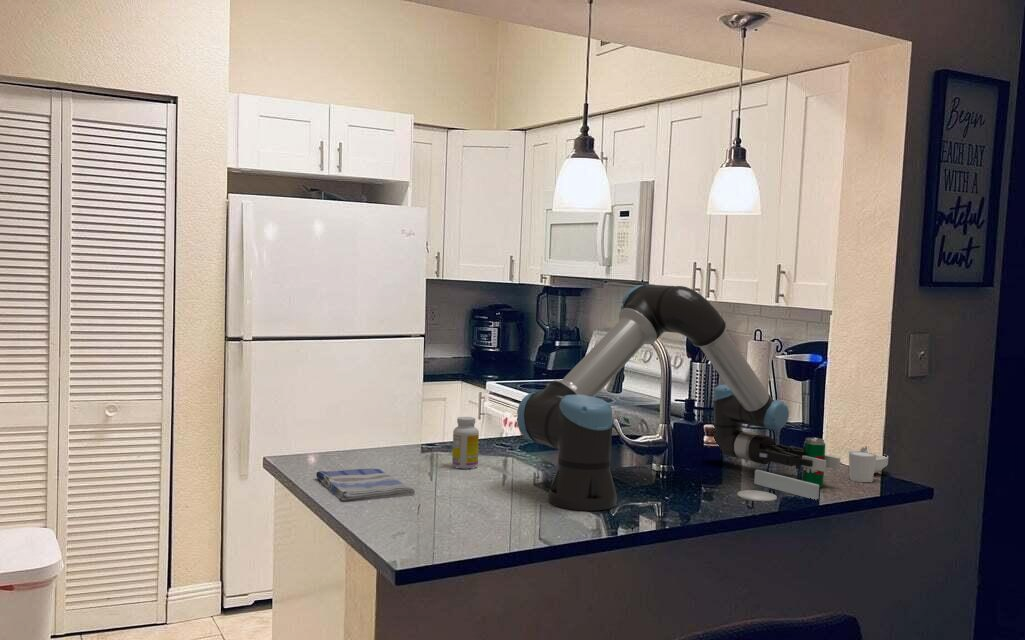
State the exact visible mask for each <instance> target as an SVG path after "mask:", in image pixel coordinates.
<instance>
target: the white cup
mask: <svg viewBox="0 0 1025 640" xmlns="http://www.w3.org/2000/svg"><path fill="white" fill-rule="evenodd" d="M876 456H877V455H875V454H872V453H867V452H849V451H848V461H849V462H848V466H849V467H848V469H849V470H848V471H849V480H850V481H852V482H855V481H856V483H862V482H871V483H873V482H872V481H874V474H875V473H874V469H875V463H876Z"/></svg>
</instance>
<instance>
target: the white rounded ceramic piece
mask: <svg viewBox="0 0 1025 640" xmlns="http://www.w3.org/2000/svg"><path fill="white" fill-rule="evenodd" d="M864 447H865V448H864ZM849 452H867V453H868V451H867V446H863V447H861V449H860V451H856V450H854V449H853V450H848V453H849ZM888 464H889V455H887V457H885V456H876V463H875V469H874V474H878V473H879V472H881V471H882V470H883V469H884V468H885V467H887V466H888Z"/></svg>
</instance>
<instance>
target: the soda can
mask: <svg viewBox="0 0 1025 640" xmlns="http://www.w3.org/2000/svg"><path fill="white" fill-rule="evenodd" d="M803 449H804V456H808V457H813V458H817V459H822V460H825V455H826V442H825V440H824V438H820V437H806V438H805V441H804V442H803ZM824 474H825V472H823V471H819V470H814V469H810V468H806V467H802V476H801V477H802V478H801V481H805V482H809V483H814V484H818V485H819V489H821V488H823V486H824V479H825V475H824Z"/></svg>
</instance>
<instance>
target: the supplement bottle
mask: <svg viewBox="0 0 1025 640" xmlns="http://www.w3.org/2000/svg"><path fill="white" fill-rule="evenodd" d="M456 422H457V427H454V429H453V431H452V461H451V462H452V467H454V468H455V467H458V468H473V467H476V466H477V467H478V465H479V439H480V438H479V435H480V434H479V429H478V428H477V427H475V424H476V418H475V417H472V416H458V417H457V419H456ZM477 467H476V468H477ZM458 468H457V469H458ZM473 469H474V468H473Z"/></svg>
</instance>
